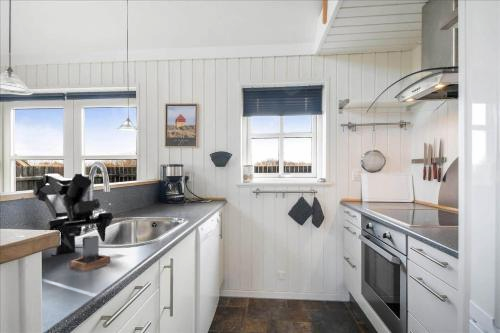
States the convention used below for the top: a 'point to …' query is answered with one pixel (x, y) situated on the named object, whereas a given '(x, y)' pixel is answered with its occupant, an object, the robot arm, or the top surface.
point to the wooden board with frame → (86, 267)
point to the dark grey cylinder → (90, 249)
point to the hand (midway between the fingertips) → (88, 244)
